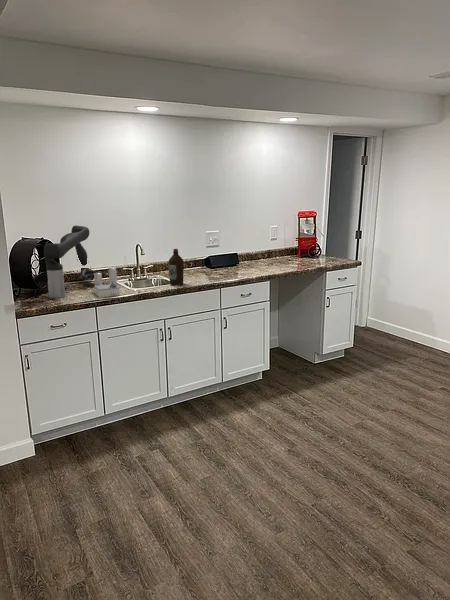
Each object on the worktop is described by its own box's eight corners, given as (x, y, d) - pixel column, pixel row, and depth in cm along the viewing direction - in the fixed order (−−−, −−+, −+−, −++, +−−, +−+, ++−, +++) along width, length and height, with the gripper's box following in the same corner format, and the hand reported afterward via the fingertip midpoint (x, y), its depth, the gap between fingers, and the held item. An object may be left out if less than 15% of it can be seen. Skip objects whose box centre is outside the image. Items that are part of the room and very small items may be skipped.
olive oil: (176, 282, 327) (175, 247, 321) (187, 284, 321) (186, 248, 314) (165, 284, 318) (164, 249, 312) (177, 286, 312) (176, 250, 306)
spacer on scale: (110, 287, 286) (109, 269, 283) (108, 286, 290) (107, 268, 287) (118, 287, 288) (116, 268, 285) (116, 285, 292) (114, 267, 289)
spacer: (96, 292, 296) (95, 274, 293) (94, 290, 300) (93, 273, 297) (103, 291, 298) (102, 273, 295) (101, 290, 302) (100, 272, 299)
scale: (99, 297, 282) (99, 289, 281) (94, 293, 293) (94, 285, 292) (120, 295, 288) (119, 287, 287) (114, 291, 299) (114, 283, 298)
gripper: (78, 270, 316) (83, 274, 303) (98, 268, 323) (104, 272, 309) (79, 280, 318) (84, 285, 304) (99, 278, 325) (105, 282, 311)
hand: (94, 278), depth 307 cm, fingers open, 8 cm apart
